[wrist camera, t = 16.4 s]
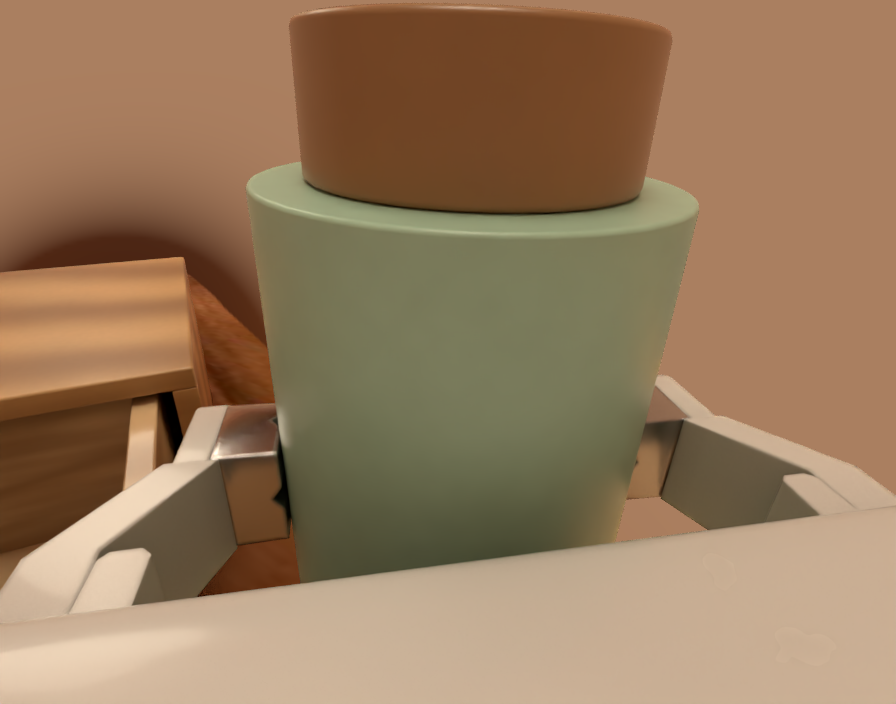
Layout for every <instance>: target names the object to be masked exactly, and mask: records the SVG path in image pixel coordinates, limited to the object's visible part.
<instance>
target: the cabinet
mask: <svg viewBox="0 0 896 704" xmlns="http://www.w3.org/2000/svg"><path fill="white" fill-rule="evenodd" d="M157 393H162V395H163V399H164V403H165V407H166V411H167V415H168V419H169V423H170V427H171V431H172V435H173V439H174V443H175V447H176V450H177V452H178V450H179V447H180V445H181V443H182V441H183V438H184V436H185V434H186V431H187V429H188V427H189V425H190V422H191V420H192V418H193V416H194V413H195V411H196V410H197V409H198V408H200V407H209V406H213V404H212V396H211V389H210V385H209V380H208V375H207V370H206V365H205V360H204V355H203V350H202V345H201V340H200V335H199V330H198V325H197V320H196V315H195V311H194V306H193V301H192V296H191V291H190V286H189V281H188V276H187V271H186V266H185V262H184V258H183V257H176V258H165V259H153V260H141V261H129V262H118V263H106V264H95V265H84V266H71V267H60V268H48V269H37V270H25V271H14V272H1V273H0V421H6V420H12V419H17V418H23V417H28V416H34V415H40V414H45V413H51V412H56V411H62V410H68V409H73V408H79V407H84V406H90V405H96V404H101V403H107V402H112V401H118V400H124V399H129V398H135V397H141V396H146V395H152V394H157Z"/></svg>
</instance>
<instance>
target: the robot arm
mask: <svg viewBox="0 0 896 704" xmlns="http://www.w3.org/2000/svg"><path fill="white" fill-rule="evenodd" d="M649 497H661V499H662V500H664V501H665V502H667V503H668V504H670V505H671V506H673V507H674V508H676V509H677V510H679V511H680V512H682V513H683V514H685V515H686V516H688V517H690V518H691V519H692V520H694V521H695V522H697V523H698V524H700V525H701V526H703V527H704V528H706V529H707V530H706V531H698V532H690V533H682V534H675V535H667V536H659V537H652V538H644V539H637V540H629V541H621V542H614V543H606V544H599V545H591V546H584V547H576V548H569V549H561V550H554V551H546V552H538V553H531V554H523V555H515V556H508V557H500V558H493V559H485V560H477V561H470V562H462V563H454V564H447V565H439V566H432V567H424V568H416V569H409V570H401V571H393V572H386V573H378V574H371V575H363V576H355V577H348V578H340V579H332V580H325V581H317V582H310V583H302V584H294V585H287V586H279V587H271V588H264V589H256V590H249V591H241V592H233V593H226V594H218V595H210V596H203V597H197V596H198V595H199V593H200V592H201V591H202V590H203V589H204V587H205V586H206V585H207V584H208V583H209V581H210V580H211V579H212V578H213V577H214V575H215V574H216V573H217V572H218V571H219V570H220V568H221V567H222V566H223V565H224V564H225V562H226V561H227V560H228V559H229V558H230V556H231V555H232V554H233V553H234V552H235V550H236V549H237V546H238V545H245V544H252V543H259V542H266V541H273V540H280V539H287V538H289V534H290V525H291V511H290V504H289V497H288V489H287V483H286V476H285V468H284V461H283V454H282V446H281V439H280V432H279V425H278V418H277V411H276V404H275V403H263V404H243V405H230V406H228V405H221V406H209V407H200V408H198V409H197V410H196V411H195V413H194V416H193V418H192V420H191V422H190V425H189V427H188V429H187V431H186V434H185V436H184V438H183V441H182V443H181V445H180V447H179V450H178V452H177V454H176V457H175V459H174V461H173V463H169V464H163V465H161V466H160V467H158V468H157V469H155V470H154V471H152V472H151V473H149V474H148V475H146V476H145V477H143V478H142V479H140V480H139V481H137V482H136V483H134V484H133V485H131V486H130V487H128V488H127V489H125V490H124V491H122V492H121V493H119V494H118V495H116V496H115V497H113V498H112V499H110V500H109V501H107V502H106V503H104V504H103V505H101V506H100V507H98V508H97V509H95V510H94V511H93V512H91V513H90V514H88V515H87V516H85V517H84V518H82V519H81V520H79V521H78V522H76V523H75V524H73V525H72V526H70V527H69V528H67V529H66V530H64V531H63V532H61V533H60V534H58V535H57V536H55V537H54V538H52V539H51V540H49V541H48V542H46V543H45V544H43V545H42V546H40V547H39V548H37V549H36V550H34V551H33V552H31V553H30V554H28V555H27V556H25V557H24V558H22V559H21V560H20V562H19V563H18V565H17V566H16V568H15V569H14V571H13V572H12V574H11V575H10V577H9V578H8V580H7V581H6V583H5V584H4V586H3V587H2V589H1V590H0V704H896V495H894V494H893V493H892V492H890V491H889V490H888V489H886V488H885V487H883V486H882V485H881V484H879V483H878V482H876V481H875V480H874V479H873V478H871V477H870V476H869V475H867V474H866V473H865V472H863V471H862V470H861V469H859V468H858V467H857V466H854V465H852V464H849V463H846V462H844V461H841V460H839V459H836V458H833V457H831V456H828V455H825V454H822V453H820V452H817V451H815V450H812V449H810V448H807V447H804V446H801V445H799V444H796V443H793V442H791V441H788V440H786V439H783V438H780V437H778V436H775V435H773V434H770V433H767V432H764V431H762V430H759V429H757V428H754V427H751V426H749V425H746V424H743V423H741V422H738V421H736V420H733V419H730V418H727V417H725V416H715V415H714V414H713V413H711V412H710V411H709V410H708V409H707V408H706V407H705V406H703V405H702V404H701V403H700V402H699V401H698V400H696V399H695V398H694V397H693V396H692V395H691V394H690V393H689V392H687V391H686V390H685V389H684V388H683V387H682V386H681V385H679V384H678V383H677V382H676V381H675V380H674V379H673V378H671V377H670V376H666V375H657V379H656V383H655V387H654V391H653V395H652V399H651V403H650V407H649V411H648V415H647V419H646V423H645V426H644V430H643V434H642V438H641V442H640V446H639V450H638V454H637V458H636V462H635V466H634V470H633V474H632V478H631V482H630V486H629V489H628V493H627V497H626V499H638V498H649Z"/></svg>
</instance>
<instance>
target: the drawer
mask: <svg viewBox="0 0 896 704" xmlns="http://www.w3.org/2000/svg"><path fill="white" fill-rule="evenodd" d="M176 454H177V450H176V447H175V443H174V439H173V435H172V431H171V427H170V423H169V419H168V415H167V411H166V407H165V403H164V399H163V395H162V393H157V394H152V395H146V396H141V397H135V398H129V399H124V400H118V401H112V402H107V403H101V404H96V405H90V406H84V407H79V408H73V409H68V410H62V411H56V412H51V413H45V414H40V415H34V416H28V417H23V418H17V419H12V420H6V421H0V590H1V589H2V587H3V586H4V584H5V583H6V581H7V580H8V578H9V577H10V575H11V574H12V572H13V571H14V569H15V568H16V566H17V565H18V563H19V562H20V560H21V559H22V558H24V557H25V556H27V555H28V554H30V553H31V552H33V551H34V550H36V549H37V548H39V547H40V546H42V545H43V544H45V543H46V542H48V541H49V540H51V539H52V538H54V537H55V536H57V535H58V534H60V533H61V532H63V531H64V530H66V529H67V528H69V527H70V526H72V525H73V524H75V523H76V522H78V521H79V520H81V519H82V518H84V517H85V516H87V515H88V514H90V513H91V512H93V511H94V510H95V509H97V508H98V507H100V506H101V505H103V504H104V503H106V502H107V501H109V500H110V499H112V498H113V497H115V496H116V495H118V494H119V493H121V492H122V491H124V490H125V489H127V488H128V487H130V486H131V485H133V484H134V483H136V482H137V481H139V480H140V479H142V478H143V477H145V476H146V475H148V474H149V473H151V472H152V471H154V470H155V469H157V468H158V467H160V466H161V465H163V464H169V463H173V461H174V459H175V457H176Z"/></svg>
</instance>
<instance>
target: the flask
mask: <svg viewBox="0 0 896 704" xmlns="http://www.w3.org/2000/svg"><path fill="white" fill-rule="evenodd" d="M289 30H290V43H291V53H292V65H293V76H294V87H295V98H296V110H297V120H298V131H299V142H300V154H301V162H297V163H291V164H286V165H282V166H278V167H274V168H271V169H268V170H265V171H263V172H261V173H258V174H256V175H255V176H253V177H252V178H251V179H249V181H248V183H247V185H246V195H247V202H248V209H249V217H250V224H251V231H252V238H253V245H254V252H255V260H256V266H257V274H258V281H259V289H260V296H261V302H262V310H263V317H264V325H265V332H266V339H267V346H268V353H269V360H270V368H271V375H272V382H273V389H274V396H275V404H276V411H277V418H278V425H279V432H280V439H281V446H282V454H283V461H284V468H285V476H286V483H287V489H288V497H289V504H290V511H291V519H292V526H293V533H294V540H295V548H296V555H297V562H298V569H299V576H300V584H302V583H310V582H317V581H325V580H332V579H340V578H348V577H355V576H363V575H371V574H378V573H386V572H393V571H401V570H409V569H416V568H424V567H432V566H439V565H447V564H454V563H462V562H470V561H477V560H485V559H493V558H500V557H508V556H515V555H523V554H531V553H538V552H546V551H554V550H561V549H569V548H576V547H584V546H591V545H599V544H606V543H614V542H615V541H616V536H617V533H618V529H619V525H620V521H621V517H622V513H623V509H624V505H625V501H626V497H627V493H628V489H629V486H630V482H631V478H632V474H633V470H634V466H635V462H636V458H637V454H638V450H639V446H640V442H641V438H642V434H643V430H644V426H645V423H646V419H647V415H648V411H649V407H650V403H651V399H652V395H653V391H654V387H655V383H656V379H657V375H658V371H659V367H660V363H661V359H662V355H663V352H664V347H665V344H666V340H667V336H668V332H669V328H670V324H671V320H672V316H673V312H674V308H675V304H676V300H677V296H678V292H679V288H680V284H681V281H682V276H683V273H684V269H685V265H686V261H687V257H688V253H689V249H690V245H691V241H692V237H693V233H694V229H695V225H696V221H697V218H698V214H699V205H698V201H697V200H696V199H695V198H694V196H692V195H691V194H689V193H688V192H686V191H684V190H682V189H680V188H678V187H675V186H673V185H670V184H668V183H665V182H662V181H659V180H655V179H652V178H648V177H645V175H646V170H647V165H648V159H649V155H650V149H651V144H652V140H653V135H654V130H655V125H656V120H657V115H658V110H659V105H660V100H661V95H662V90H663V85H664V80H665V75H666V70H667V65H668V60H669V55H670V50H671V45H672V36H671V32H670V31H669V30H668V29H666V28H664V27H662V26H660V25H657V24H654V23H651V22H648V21H643V20H639V19H634V18H629V17H623V16H617V15H610V14H602V13H595V12H585V11H576V10H566V9H553V8H541V7H526V6H525V7H524V6H508V5H486V4H485V5H484V4H451V3H400V4H398V3H397V4H367V5H350V6H338V7H329V8H320V9H316V10H310V11H306V12H303V13H300V14H298V15H296V16H293V17H292V18H291V20H290V23H289Z"/></svg>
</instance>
